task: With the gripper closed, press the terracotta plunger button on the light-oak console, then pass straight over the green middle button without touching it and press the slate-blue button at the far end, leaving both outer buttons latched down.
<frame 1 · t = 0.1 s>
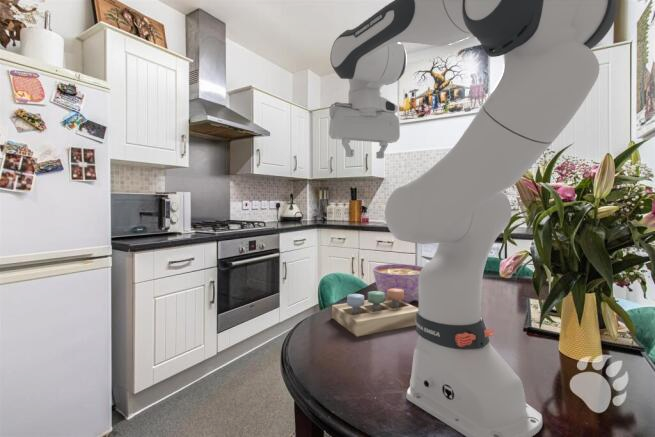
hand: (365, 157, 89), 48 cm above the table, tool pointing down, fingers open, 8 cm apart
button terracotta: (395, 299, 102), point 5 cm above the table, slide at 0.0 cm
console: (376, 320, 99), on the table
button slate: (355, 306, 96), point 5 cm above the table, slide at 0.0 cm
bowl of food: (400, 301, 120), on the table
button green: (376, 302, 99), point 5 cm above the table, slide at 0.0 cm
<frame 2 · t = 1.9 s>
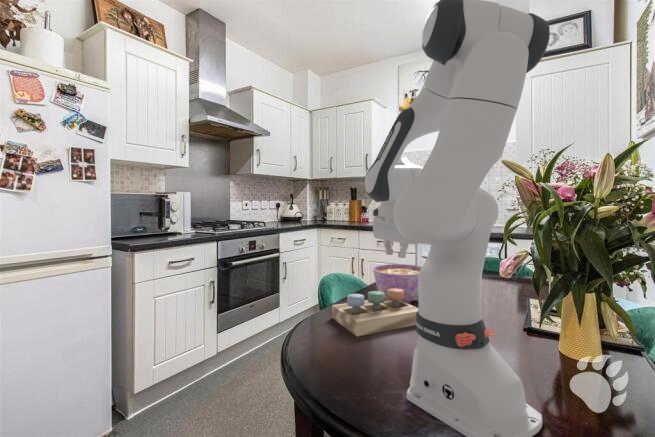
hand: (395, 256, 101), 19 cm above the table, tool pointing down, fingers open, 5 cm apart
nothing on the table moved.
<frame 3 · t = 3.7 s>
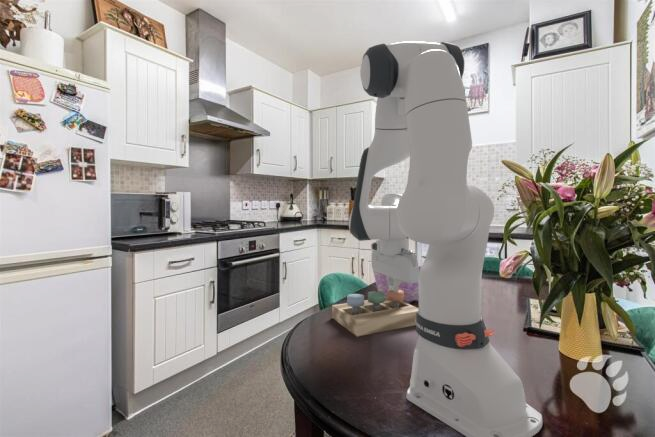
hand: (393, 291, 102), 8 cm above the table, tool pointing down, fingers closed
button terracotta: (395, 300, 102), point 5 cm above the table, slide at 0.3 cm, touching gripper
everything else where it was.
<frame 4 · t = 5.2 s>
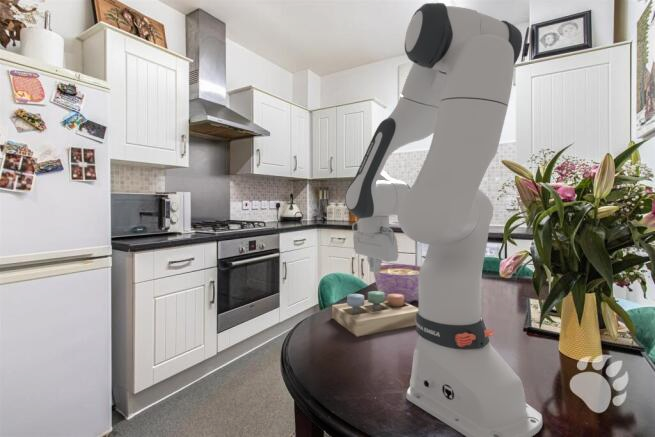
hand: (374, 272, 98), 15 cm above the table, tool pointing down, fingers closed
button terracotta: (395, 305, 102), point 4 cm above the table, slide at 1.7 cm
everything else where it was.
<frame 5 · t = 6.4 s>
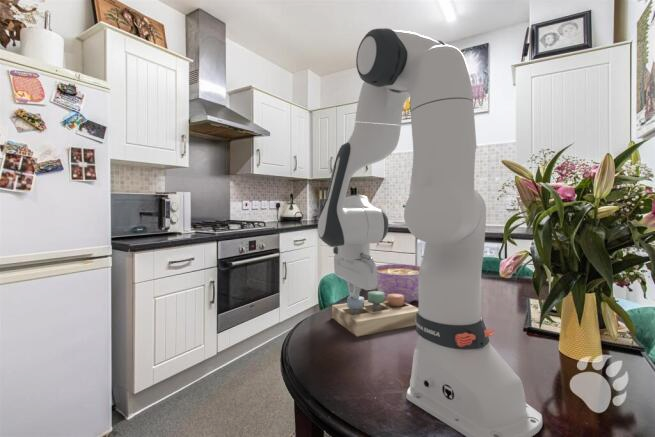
hand: (354, 297, 97), 8 cm above the table, tool pointing down, fingers closed
button slate: (355, 308, 96), point 5 cm above the table, slide at 0.6 cm, touching gripper
everything else where it was.
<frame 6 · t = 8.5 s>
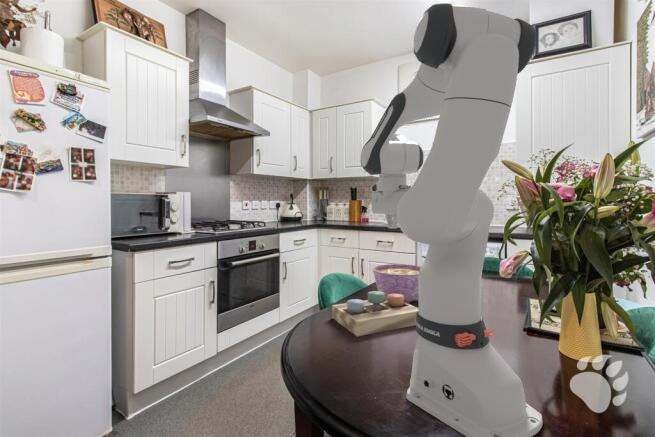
hand: (392, 228, 108), 27 cm above the table, tool pointing down, fingers closed
button slate: (355, 311, 96), point 4 cm above the table, slide at 1.7 cm
everything else where it was.
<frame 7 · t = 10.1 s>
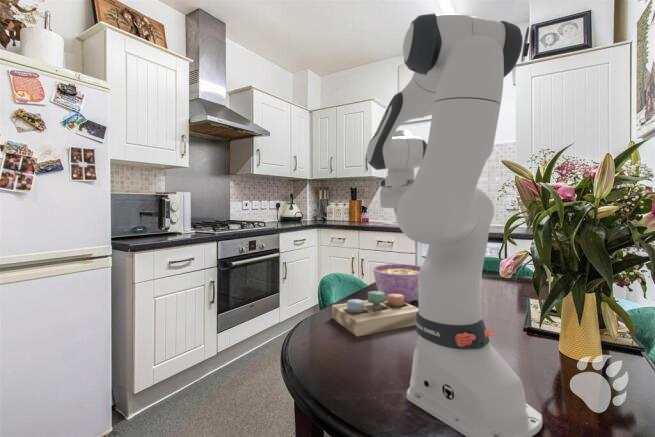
hand: (401, 221, 111), 29 cm above the table, tool pointing down, fingers closed
nothing on the table moved.
at the end: button terracotta slide at 1.7 cm; button slate slide at 1.7 cm; button green slide at 0.0 cm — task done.
